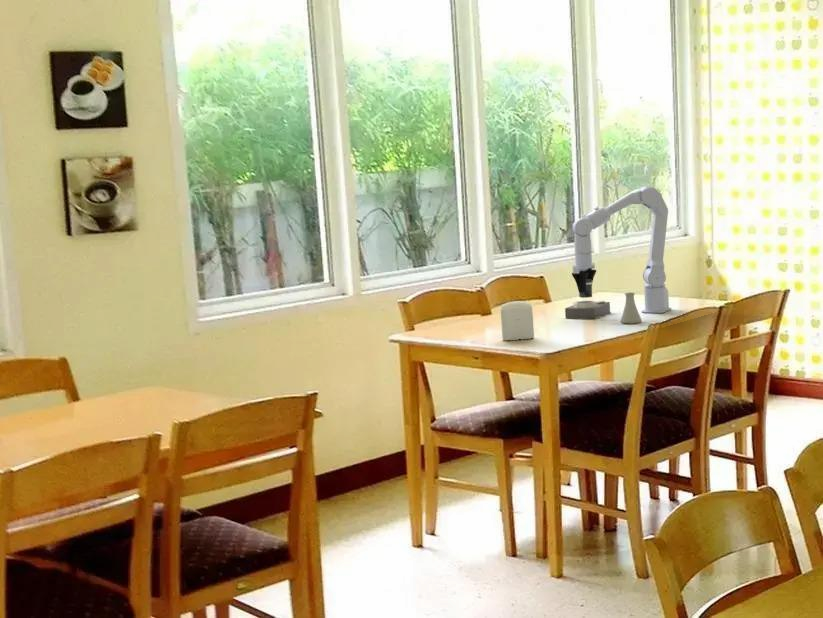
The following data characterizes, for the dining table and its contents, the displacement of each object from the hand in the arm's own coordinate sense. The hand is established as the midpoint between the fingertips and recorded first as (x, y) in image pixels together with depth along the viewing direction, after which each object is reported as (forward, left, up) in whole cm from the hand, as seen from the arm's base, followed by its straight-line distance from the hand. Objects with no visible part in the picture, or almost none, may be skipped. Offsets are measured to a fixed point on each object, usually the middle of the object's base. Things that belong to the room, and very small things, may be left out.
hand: (585, 291), depth 429 cm
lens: (0, 0, -2) cm, 2 cm away
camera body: (-3, 0, -9) cm, 9 cm away
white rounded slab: (+46, -3, -9) cm, 48 cm away
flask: (+10, +21, -9) cm, 25 cm away
